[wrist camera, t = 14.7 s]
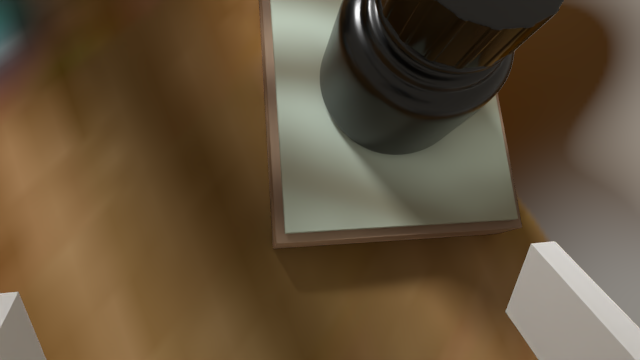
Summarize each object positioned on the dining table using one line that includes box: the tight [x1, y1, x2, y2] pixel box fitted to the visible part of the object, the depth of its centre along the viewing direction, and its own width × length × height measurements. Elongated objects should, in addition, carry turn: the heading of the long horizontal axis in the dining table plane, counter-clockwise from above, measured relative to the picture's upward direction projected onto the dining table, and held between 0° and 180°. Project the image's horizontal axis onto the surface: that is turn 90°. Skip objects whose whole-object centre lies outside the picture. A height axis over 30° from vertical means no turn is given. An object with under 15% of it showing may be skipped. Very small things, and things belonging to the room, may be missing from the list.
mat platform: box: [259, 0, 522, 249], centre depth 30 cm, size 18×15×4 cm
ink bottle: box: [320, 0, 564, 155], centre depth 22 cm, size 10×9×12 cm
